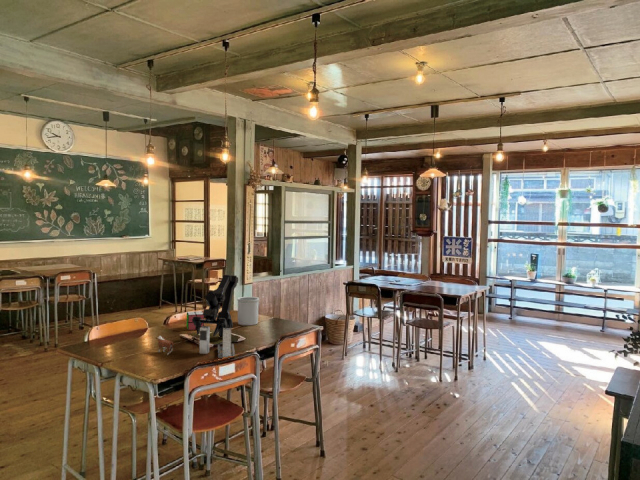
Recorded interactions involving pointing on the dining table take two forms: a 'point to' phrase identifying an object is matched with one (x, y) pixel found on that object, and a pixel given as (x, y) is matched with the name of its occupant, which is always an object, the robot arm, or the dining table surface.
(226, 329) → the grey stepped block
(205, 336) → the block
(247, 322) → the utensil holder
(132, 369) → the dining table surface
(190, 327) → the puzzle cube
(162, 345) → the bull figurine
